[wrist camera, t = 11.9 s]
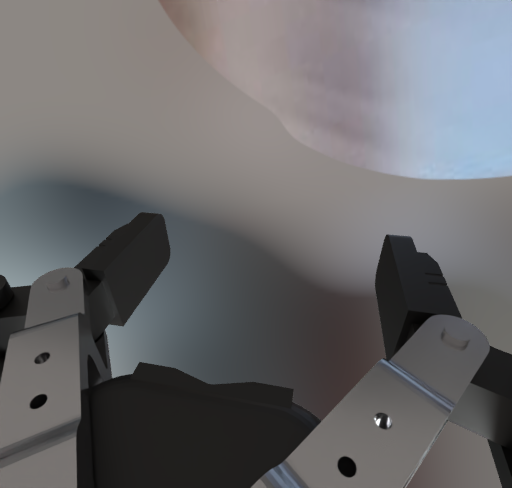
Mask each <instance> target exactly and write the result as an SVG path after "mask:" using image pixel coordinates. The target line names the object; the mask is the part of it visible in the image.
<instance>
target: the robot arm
mask: <svg viewBox="0 0 512 488" xmlns="http://www.w3.org/2000/svg"><path fill="white" fill-rule="evenodd" d="M169 258H170V245H169V240H168V235H167V230H166V224H165V220H164V217H163V216H162V215H161V214H155V213H144V212H142V213H139V214H138V215H137V216H136V217H135V218H134V219H133V220H132V221H131V222H130V223H129V224H126V225H124V226H122V227H120V228H118V229H116V230H114V231H113V232H112V233H111V234H110V235H109V236H108V237H107V238H106V240H104V241H103V242H102V243H100V244H99V247H96V248H95V249H94V250H93V251H92V252H91V253H90V254H88V255H87V256H86V257H85V258H84V259H83V260H82V261H81V262H80V263H79V264H78V265H76V266H75V267H74V268H60V269H56V270H53V271H50V272H48V273H46V274H44V275H42V276H41V277H39V278H38V279H37V280H36V281H35V282H34V283H33V284H32V285H31V286H21V287H10V285H9V284H8V282H7V280H6V278H5V277H4V276H2V275H0V488H406V487H407V485H408V483H409V482H410V480H411V478H412V477H413V475H414V474H415V472H416V470H417V469H418V467H419V466H420V464H421V462H422V461H423V459H424V458H425V456H426V455H427V453H428V451H429V450H430V448H431V447H432V445H433V443H434V442H435V440H436V439H437V437H438V435H439V434H440V432H441V431H442V429H443V428H444V426H445V424H446V423H447V421H450V422H452V423H454V424H457V425H459V426H461V427H463V428H465V429H467V430H469V431H472V432H474V433H476V434H478V435H480V436H482V437H484V438H486V439H487V440H488V443H489V446H490V449H491V452H492V456H493V459H494V462H495V465H496V468H497V472H498V475H499V478H500V482H501V484H502V488H512V355H511V354H509V353H506V352H503V351H501V350H498V349H496V348H494V347H491V346H490V345H489V342H488V340H487V338H486V336H485V335H484V334H483V333H482V332H481V331H480V330H479V329H478V328H477V327H476V326H474V325H473V324H471V323H469V322H468V321H465V320H464V319H462V317H461V315H460V313H459V310H458V308H457V306H456V303H455V301H454V299H453V296H452V295H451V292H450V290H449V288H448V286H447V283H446V281H445V278H444V277H443V274H442V272H441V269H440V267H439V265H438V263H437V262H436V261H435V260H434V259H433V258H431V257H430V256H429V255H428V254H427V253H420V252H417V251H416V248H415V245H414V242H413V240H412V238H411V237H409V236H397V235H386V237H385V239H384V243H383V247H382V251H381V255H380V259H379V263H378V267H377V272H376V279H375V290H376V296H377V302H378V309H379V315H380V321H381V328H382V334H383V341H384V347H385V353H386V359H384V358H383V359H382V360H380V361H379V362H378V363H377V364H376V365H375V366H374V367H373V368H372V369H371V370H370V371H369V372H368V373H367V374H366V375H365V376H364V377H363V378H362V380H360V381H359V383H358V384H357V385H356V386H355V387H354V388H353V389H352V390H351V391H350V392H349V393H348V394H347V395H346V396H345V397H344V398H343V399H342V401H341V402H340V403H339V404H338V405H337V406H336V407H335V408H334V409H333V410H332V411H331V412H330V413H329V414H328V415H327V417H326V418H324V420H323V421H321V420H320V419H319V418H318V417H316V416H315V415H314V414H312V413H311V412H310V411H308V410H307V409H305V408H303V407H302V406H300V405H298V404H295V403H293V402H292V401H293V389H290V388H284V387H279V386H273V385H267V384H262V383H256V382H246V383H231V384H216V385H211V384H207V383H205V382H203V381H201V380H199V379H197V378H194V377H192V376H190V375H188V374H186V373H184V372H182V371H180V370H178V369H176V368H171V367H165V366H159V365H154V364H148V363H142V362H140V363H139V364H138V366H137V367H136V369H135V371H134V373H133V374H129V375H124V376H119V377H116V378H112V371H111V363H110V356H109V347H108V339H107V334H106V331H105V329H106V327H107V326H108V325H109V324H111V325H118V326H124V325H125V323H126V322H127V320H128V319H129V318H130V316H131V315H132V313H133V312H134V310H135V309H136V307H137V306H138V305H139V303H140V302H141V301H142V299H143V298H144V296H145V295H146V294H147V292H148V291H149V289H150V288H151V286H152V285H153V284H154V282H155V281H156V279H157V278H158V277H159V275H160V274H161V272H162V271H163V269H164V268H165V267H166V265H167V264H168V262H169Z"/></svg>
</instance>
